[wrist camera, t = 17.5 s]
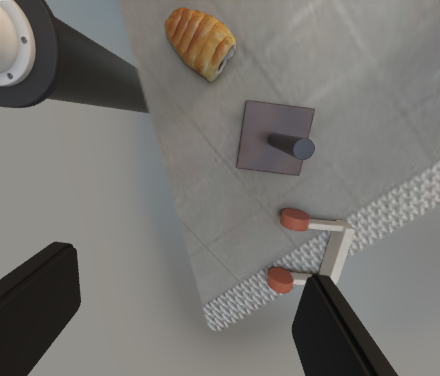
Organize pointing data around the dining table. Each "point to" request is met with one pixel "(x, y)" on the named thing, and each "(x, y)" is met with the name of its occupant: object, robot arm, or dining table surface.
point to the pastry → (200, 41)
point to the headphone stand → (275, 138)
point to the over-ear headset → (333, 256)
